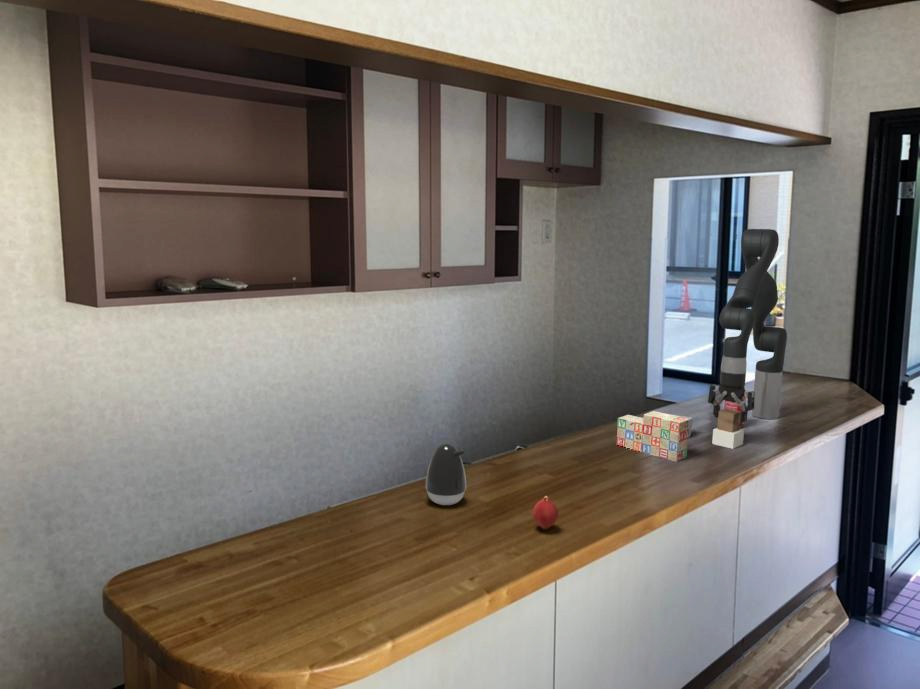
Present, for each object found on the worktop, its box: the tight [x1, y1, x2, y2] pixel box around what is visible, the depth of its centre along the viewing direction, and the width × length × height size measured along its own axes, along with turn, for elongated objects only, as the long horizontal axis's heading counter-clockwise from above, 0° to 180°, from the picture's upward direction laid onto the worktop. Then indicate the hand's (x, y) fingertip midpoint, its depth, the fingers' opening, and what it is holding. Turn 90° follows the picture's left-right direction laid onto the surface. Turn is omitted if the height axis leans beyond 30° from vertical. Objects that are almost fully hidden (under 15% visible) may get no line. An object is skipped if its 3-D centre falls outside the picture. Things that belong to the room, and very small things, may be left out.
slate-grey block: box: [676, 415, 693, 439], centre depth 252 cm, size 5×5×6 cm
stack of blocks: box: [616, 410, 690, 462], centre depth 233 cm, size 21×6×12 cm, turn 46°
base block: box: [711, 427, 745, 450], centre depth 243 cm, size 7×7×5 cm
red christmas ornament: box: [532, 495, 559, 530], centre depth 174 cm, size 6×6×8 cm
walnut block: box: [716, 408, 741, 433], centre depth 242 cm, size 5×5×6 cm
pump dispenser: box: [425, 442, 467, 506], centre depth 189 cm, size 10×10×15 cm
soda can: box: [723, 395, 747, 429], centre depth 263 cm, size 7×7×12 cm
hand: (729, 419), depth 242 cm, fingers open, 8 cm apart
